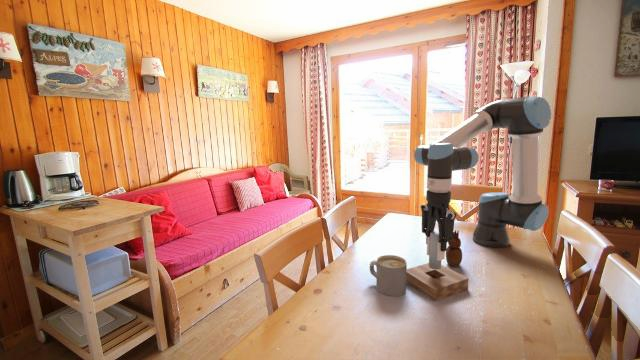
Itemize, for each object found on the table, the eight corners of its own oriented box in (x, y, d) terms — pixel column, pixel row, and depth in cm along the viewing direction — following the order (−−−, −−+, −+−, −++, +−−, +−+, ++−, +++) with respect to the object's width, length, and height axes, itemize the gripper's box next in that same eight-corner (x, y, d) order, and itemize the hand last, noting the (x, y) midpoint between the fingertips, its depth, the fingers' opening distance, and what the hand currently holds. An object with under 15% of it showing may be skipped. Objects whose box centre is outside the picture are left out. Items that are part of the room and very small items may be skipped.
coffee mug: (412, 289, 106) (412, 262, 105) (392, 299, 101) (392, 270, 99) (382, 274, 117) (383, 249, 115) (363, 283, 111) (363, 256, 110)
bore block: (434, 271, 119) (434, 261, 118) (467, 289, 105) (468, 278, 105) (403, 280, 112) (403, 270, 112) (434, 301, 99) (435, 289, 98)
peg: (434, 263, 110) (436, 230, 108) (443, 267, 107) (445, 234, 104) (426, 265, 108) (427, 232, 106) (434, 270, 105) (436, 236, 103)
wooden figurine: (463, 269, 120) (465, 231, 117) (447, 268, 121) (449, 231, 118) (459, 261, 126) (461, 226, 123) (444, 260, 127) (445, 225, 125)
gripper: (411, 186, 109) (409, 250, 113) (451, 196, 94) (447, 269, 98) (428, 184, 112) (425, 246, 116) (468, 193, 97) (464, 264, 101)
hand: (435, 256), depth 107 cm, fingers closed on peg, 4 cm apart
